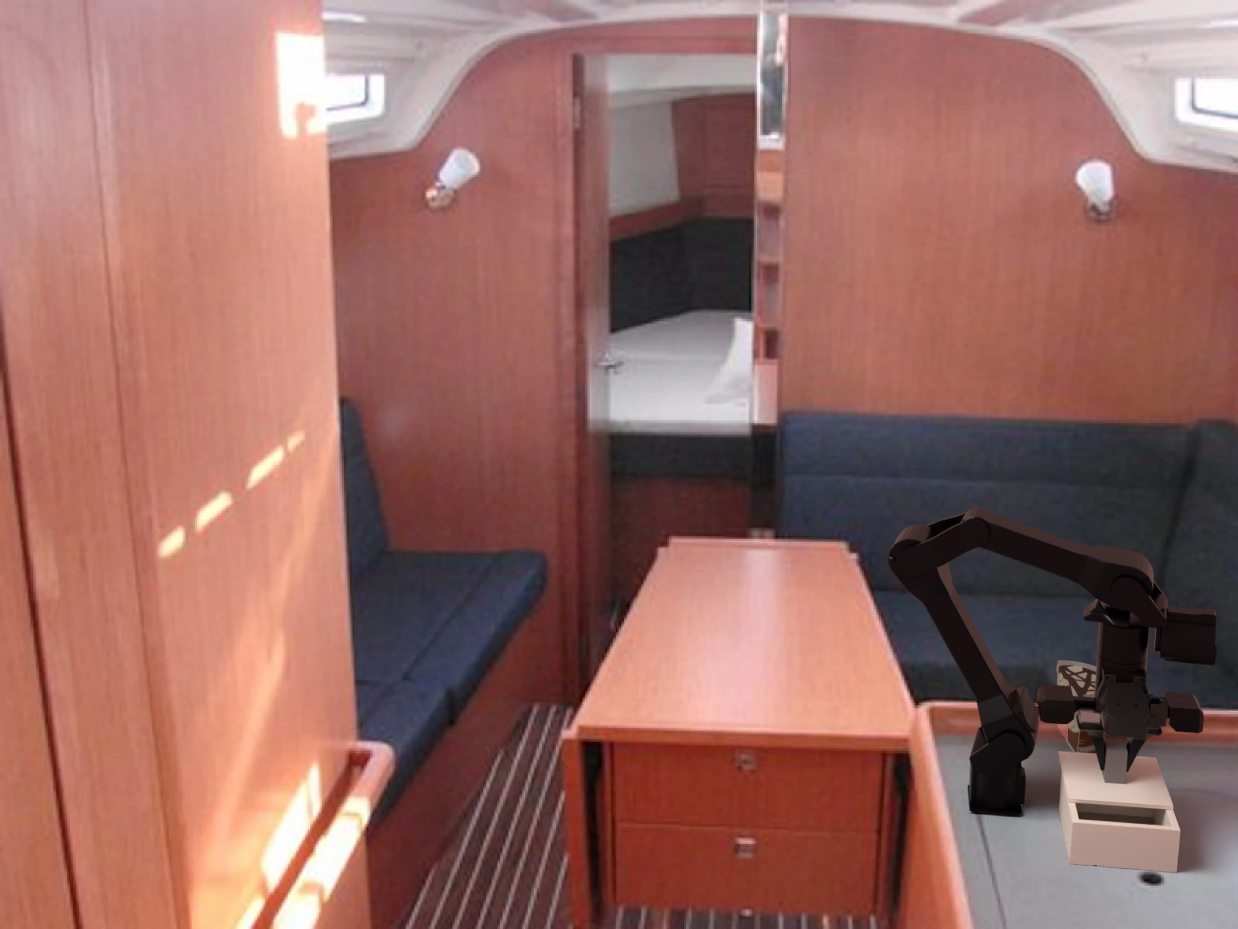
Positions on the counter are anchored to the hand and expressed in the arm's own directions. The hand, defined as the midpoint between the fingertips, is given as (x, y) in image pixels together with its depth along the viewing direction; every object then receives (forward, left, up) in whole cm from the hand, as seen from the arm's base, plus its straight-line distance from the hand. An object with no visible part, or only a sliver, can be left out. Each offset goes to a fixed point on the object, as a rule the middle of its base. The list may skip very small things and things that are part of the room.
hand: (1113, 770), depth 163 cm
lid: (0, 0, -2) cm, 2 cm away
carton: (0, -4, -7) cm, 8 cm away
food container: (0, +22, -7) cm, 23 cm away
